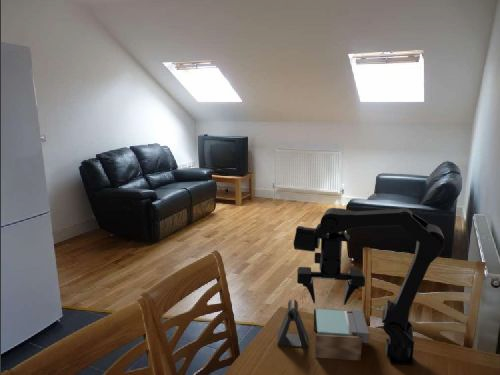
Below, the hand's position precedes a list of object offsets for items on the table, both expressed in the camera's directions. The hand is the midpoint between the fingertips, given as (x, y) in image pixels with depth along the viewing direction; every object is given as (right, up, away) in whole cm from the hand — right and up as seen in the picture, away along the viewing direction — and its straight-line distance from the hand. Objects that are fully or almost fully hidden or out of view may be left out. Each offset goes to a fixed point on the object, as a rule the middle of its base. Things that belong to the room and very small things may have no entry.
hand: (329, 303), depth 113 cm
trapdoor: (+4, -8, +1) cm, 9 cm away
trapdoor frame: (+2, -13, +3) cm, 13 cm away
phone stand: (-10, -13, +4) cm, 17 cm away
